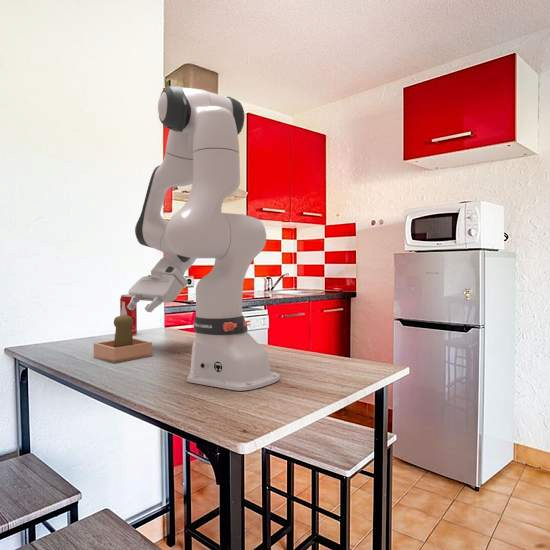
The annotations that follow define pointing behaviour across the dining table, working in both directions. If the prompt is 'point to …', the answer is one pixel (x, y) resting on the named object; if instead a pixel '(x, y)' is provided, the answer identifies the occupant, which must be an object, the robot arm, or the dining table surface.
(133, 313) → the beverage can
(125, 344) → the cork
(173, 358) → the dining table surface
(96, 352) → the shallow wooden box
